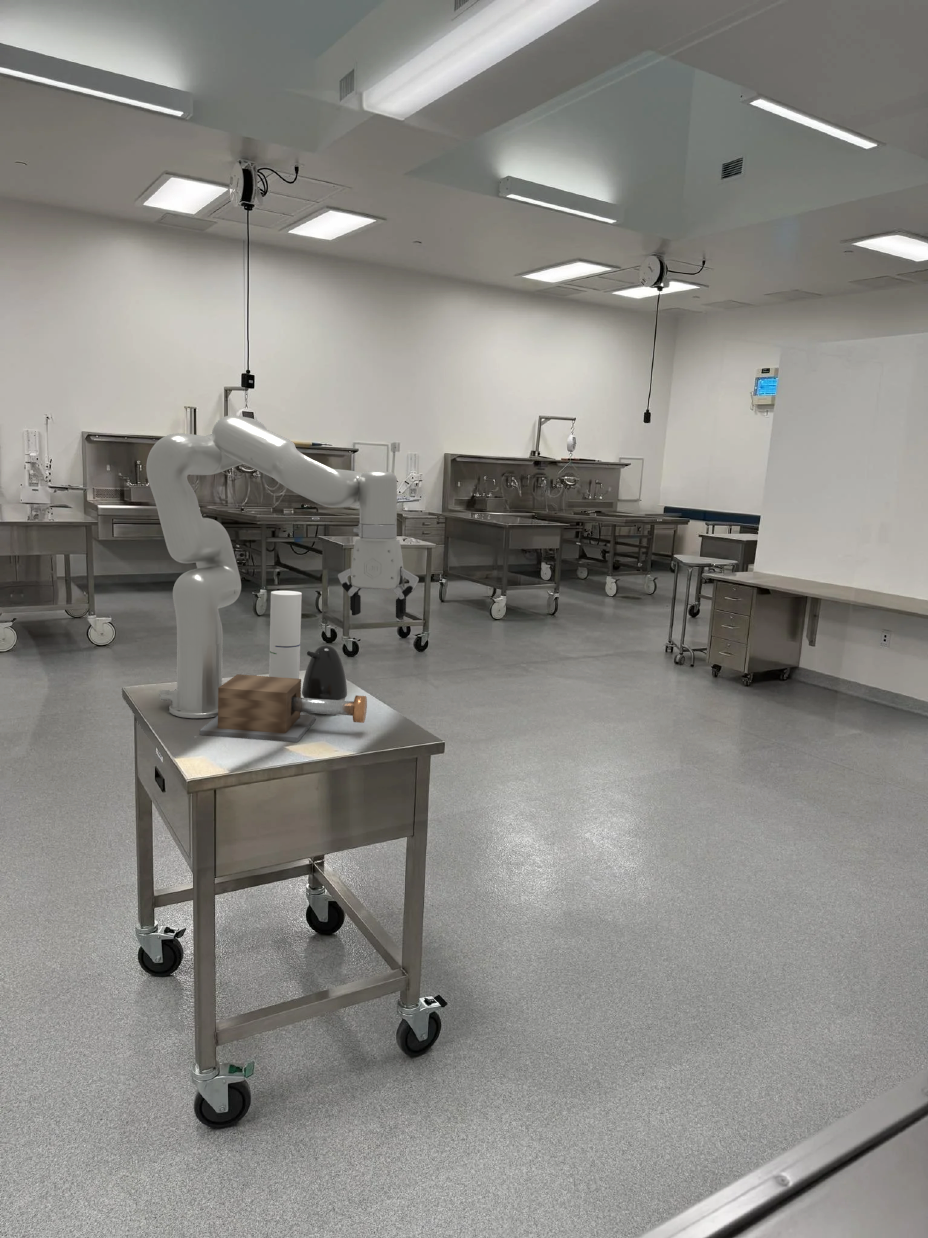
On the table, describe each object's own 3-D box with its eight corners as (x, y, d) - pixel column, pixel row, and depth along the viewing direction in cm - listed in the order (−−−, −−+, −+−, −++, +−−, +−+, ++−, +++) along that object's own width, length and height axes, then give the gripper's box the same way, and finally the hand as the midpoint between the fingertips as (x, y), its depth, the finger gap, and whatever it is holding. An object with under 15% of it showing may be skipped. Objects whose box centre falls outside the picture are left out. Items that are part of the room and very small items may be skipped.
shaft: (265, 719, 172) (266, 692, 171) (273, 711, 177) (274, 686, 176) (361, 726, 171) (362, 700, 170) (366, 718, 177) (367, 693, 176)
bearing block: (199, 734, 168) (200, 689, 166) (226, 713, 184) (226, 671, 182) (297, 742, 167) (298, 696, 165) (315, 719, 183) (317, 677, 181)
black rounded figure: (291, 708, 190) (293, 643, 187) (326, 701, 198) (329, 638, 195) (320, 719, 183) (322, 651, 181) (355, 711, 191) (358, 646, 189)
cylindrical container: (291, 700, 197) (294, 596, 193) (263, 697, 198) (265, 593, 194) (303, 693, 204) (306, 592, 200) (276, 689, 205) (278, 589, 201)
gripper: (331, 532, 168) (331, 616, 170) (412, 535, 163) (411, 621, 166) (346, 530, 175) (346, 611, 178) (424, 533, 170) (423, 615, 173)
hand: (377, 615), depth 172 cm, fingers open, 9 cm apart
